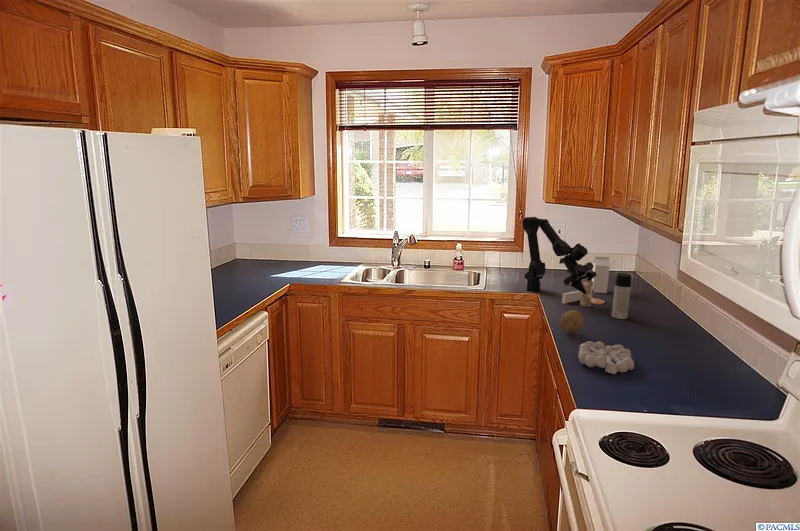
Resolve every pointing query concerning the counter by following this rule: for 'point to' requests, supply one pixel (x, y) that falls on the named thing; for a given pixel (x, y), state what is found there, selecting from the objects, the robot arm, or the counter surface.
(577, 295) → the off-white long flat block
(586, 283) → the ash post
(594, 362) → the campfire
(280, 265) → the counter surface
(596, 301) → the terracotta coaster
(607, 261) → the milk carton
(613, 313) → the spray can
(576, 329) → the natural sponge
